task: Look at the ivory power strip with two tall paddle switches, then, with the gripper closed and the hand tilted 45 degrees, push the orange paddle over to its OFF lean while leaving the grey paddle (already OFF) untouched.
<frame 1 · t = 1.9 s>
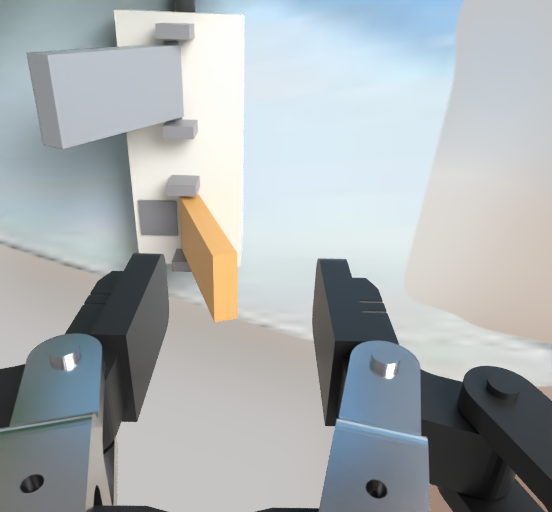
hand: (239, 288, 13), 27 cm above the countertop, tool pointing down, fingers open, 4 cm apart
orange switch: (204, 249, 32), point 9 cm above the countertop, hinge at -20.0°
grey switch: (121, 89, 28), point 9 cm above the countertop, hinge at 28.0°
power strip: (192, 139, 38), on the countertop
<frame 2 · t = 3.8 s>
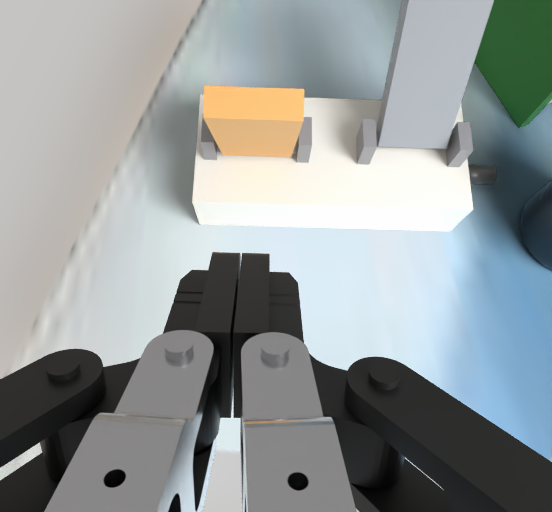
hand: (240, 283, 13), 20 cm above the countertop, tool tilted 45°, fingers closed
hardback book: (497, 29, 41), on the countertop
orange switch: (256, 129, 27), point 9 cm above the countertop, hinge at -20.0°
grey switch: (428, 69, 28), point 9 cm above the countertop, hinge at 28.0°
power strip: (324, 177, 36), on the countertop
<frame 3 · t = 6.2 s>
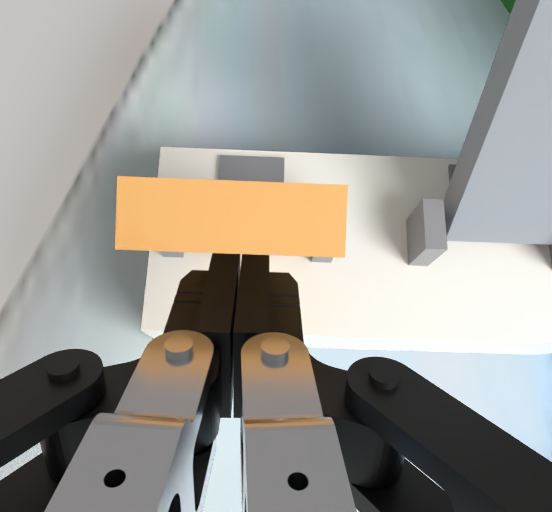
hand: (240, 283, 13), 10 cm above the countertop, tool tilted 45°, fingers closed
orange switch: (243, 229, 14), point 9 cm above the countertop, hinge at -17.5°, touching gripper
grey switch: (545, 124, 16), point 9 cm above the countertop, hinge at 28.0°
power strip: (351, 267, 24), on the countertop
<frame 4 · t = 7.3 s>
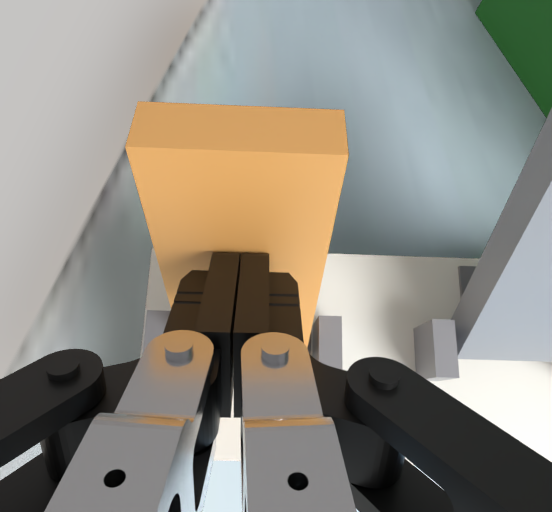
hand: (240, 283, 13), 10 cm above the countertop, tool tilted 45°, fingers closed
orange switch: (243, 268, 14), point 9 cm above the countertop, hinge at 18.1°, touching gripper
power strip: (354, 362, 23), on the countertop
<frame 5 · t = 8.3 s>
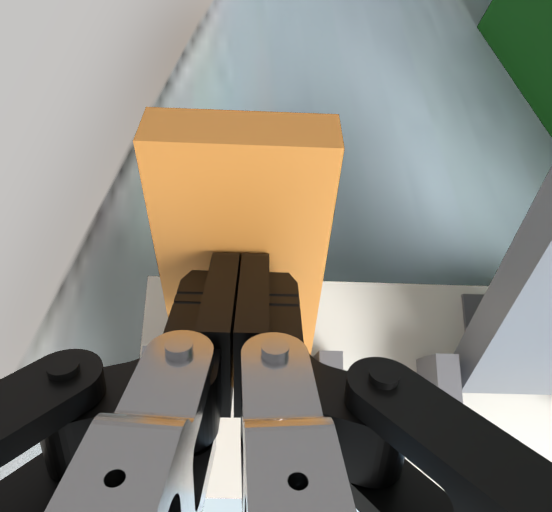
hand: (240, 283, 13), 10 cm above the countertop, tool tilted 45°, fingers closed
orange switch: (243, 283, 14), point 9 cm above the countertop, hinge at 27.2°, touching gripper
power strip: (355, 388, 22), on the countertop
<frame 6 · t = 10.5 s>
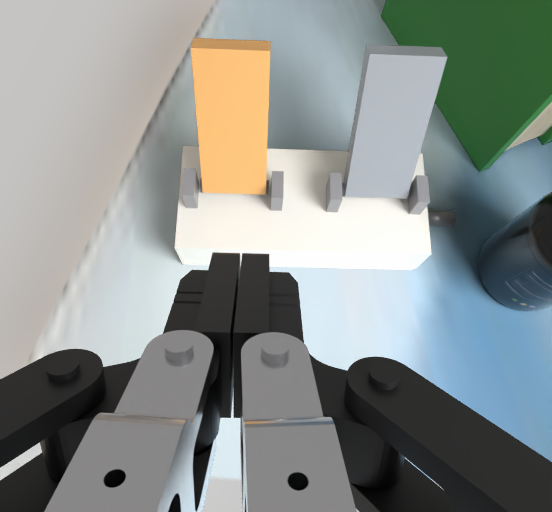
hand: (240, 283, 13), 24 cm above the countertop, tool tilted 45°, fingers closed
hardback book: (461, 77, 44), on the countertop
orange switch: (233, 127, 31), point 9 cm above the countertop, hinge at 27.3°
supplement bottle: (515, 271, 39), on the countertop
grey switch: (388, 131, 31), point 9 cm above the countertop, hinge at 28.0°
power strip: (299, 219, 39), on the countertop
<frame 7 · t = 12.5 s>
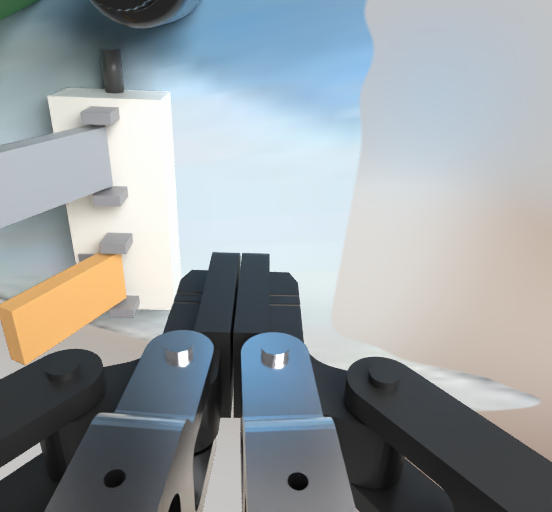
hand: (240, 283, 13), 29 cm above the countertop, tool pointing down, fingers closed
orange switch: (72, 300, 37), point 9 cm above the countertop, hinge at 27.3°
grey switch: (48, 172, 32), point 9 cm above the countertop, hinge at 28.0°
power strip: (130, 197, 42), on the countertop
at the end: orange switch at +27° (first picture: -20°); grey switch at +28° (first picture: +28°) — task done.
